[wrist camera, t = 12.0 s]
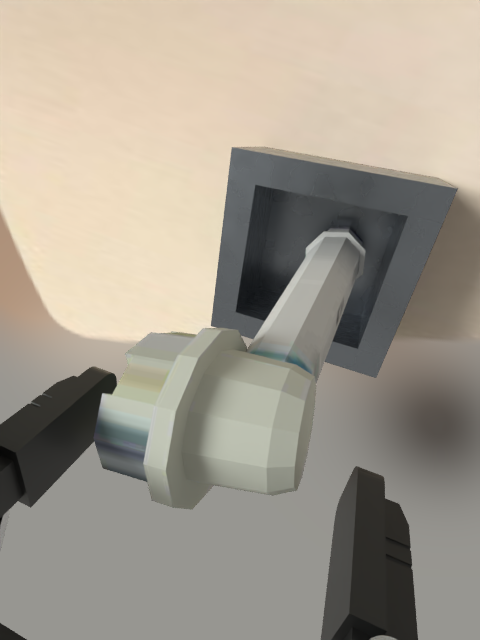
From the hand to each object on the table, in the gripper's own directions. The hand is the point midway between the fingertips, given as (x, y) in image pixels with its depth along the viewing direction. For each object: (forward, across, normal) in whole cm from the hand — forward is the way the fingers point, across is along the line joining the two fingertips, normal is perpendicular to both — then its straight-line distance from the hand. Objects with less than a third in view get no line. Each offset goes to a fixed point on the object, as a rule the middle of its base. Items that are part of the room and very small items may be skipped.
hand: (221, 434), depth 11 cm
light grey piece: (+23, 0, 0) cm, 23 cm away
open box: (+24, 0, 0) cm, 24 cm away
